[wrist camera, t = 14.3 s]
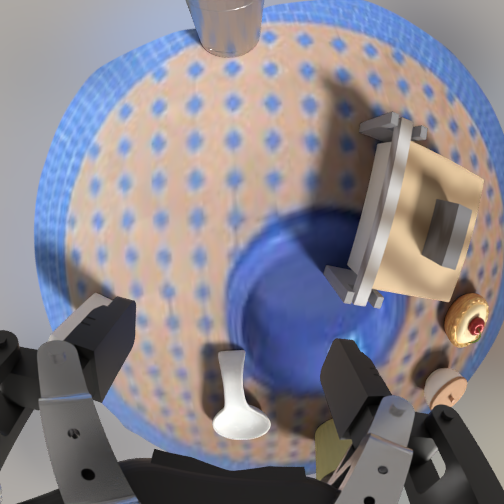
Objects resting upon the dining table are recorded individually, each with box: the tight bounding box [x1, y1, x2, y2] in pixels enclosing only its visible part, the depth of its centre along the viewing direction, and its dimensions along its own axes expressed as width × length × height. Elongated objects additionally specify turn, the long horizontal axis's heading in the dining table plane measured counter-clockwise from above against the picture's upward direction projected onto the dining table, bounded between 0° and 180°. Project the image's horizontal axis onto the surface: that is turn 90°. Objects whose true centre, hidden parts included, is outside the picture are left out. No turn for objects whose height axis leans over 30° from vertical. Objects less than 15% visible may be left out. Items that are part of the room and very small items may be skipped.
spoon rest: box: [212, 350, 271, 440], centre depth 48 cm, size 24×12×7 cm, turn 6°
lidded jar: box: [424, 368, 467, 410], centre depth 48 cm, size 11×11×9 cm
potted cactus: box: [315, 419, 352, 483], centre depth 41 cm, size 15×15×30 cm
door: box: [352, 117, 484, 306], centre depth 31 cm, size 25×18×6 cm
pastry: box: [444, 293, 489, 348], centre depth 44 cm, size 12×12×9 cm
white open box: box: [323, 112, 428, 308], centre depth 37 cm, size 25×20×10 cm
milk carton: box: [48, 293, 113, 341], centre depth 37 cm, size 7×7×19 cm
